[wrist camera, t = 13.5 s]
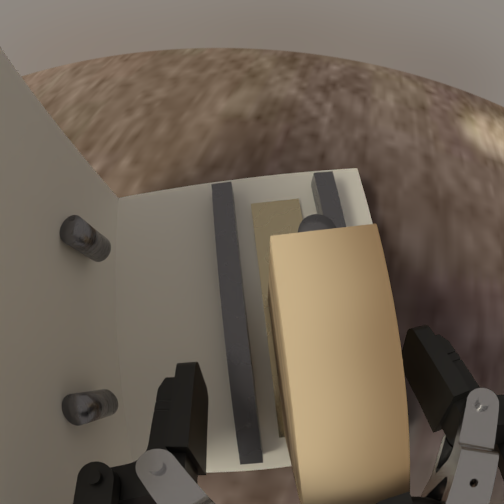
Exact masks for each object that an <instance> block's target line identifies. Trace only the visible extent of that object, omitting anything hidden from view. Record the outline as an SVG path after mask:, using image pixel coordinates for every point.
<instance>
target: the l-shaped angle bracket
mask: <svg viewBox="0 0 504 504" xmlns="http://www.w3.org/2000/svg"><path fill="white" fill-rule="evenodd" d="M313 214H321V215H324V216H326V217H328V218H329V219H331V220H332V221H333V223H334V224H335V226H336V228H342V227H350V226H359V225H368V224H373V223H372V219H371V215H370V212H369V208H368V204H367V200H366V197H365V193H364V190H363V186H362V183H361V179H360V176H359V173H358V169H357V168H351V169H336V170H323V171H311V172H300V173H289V174H279V175H270V176H261V177H252V178H244V179H235V180H228V181H220V182H213V183H206V184H199V185H192V186H185V187H179V188H173V189H167V190H161V191H155V192H149V193H143V194H138V195H132V196H127V197H121V198H118V197H117V196H116V195H115V194H114V192H113V191H112V190H111V189H110V188H109V187H108V186H107V184H106V183H105V182H104V181H103V180H102V179H101V177H100V176H99V175H98V174H97V173H96V171H95V170H94V169H93V168H92V167H91V165H90V164H89V163H88V162H87V161H86V159H85V158H84V157H83V156H82V155H81V153H80V152H79V151H78V150H77V149H76V147H75V146H74V145H73V144H72V142H71V141H70V140H69V139H68V137H67V136H66V135H65V134H64V132H63V131H62V130H61V129H60V127H59V126H58V125H57V124H56V122H55V121H54V120H53V118H52V117H51V116H50V115H49V113H48V112H47V111H46V109H45V108H44V107H43V105H42V104H41V103H40V101H39V100H38V99H37V98H36V96H35V95H34V94H33V92H32V91H31V89H30V88H29V87H28V85H27V84H26V83H25V81H24V80H23V79H22V77H21V76H20V75H19V73H18V72H17V70H16V69H15V68H14V66H13V65H12V63H11V62H10V60H9V59H8V58H7V56H6V55H5V53H4V52H3V51H2V49H1V47H0V504H73V500H74V494H75V488H76V482H77V477H78V473H79V471H80V470H81V468H82V467H83V466H84V465H86V464H88V463H90V462H95V461H98V462H102V463H105V464H106V465H108V466H109V467H115V466H120V465H125V464H129V463H132V462H135V461H136V460H138V458H139V457H140V456H141V455H142V454H143V453H144V452H146V450H147V447H148V443H149V436H150V430H151V424H152V419H153V413H154V407H155V402H156V396H157V391H158V388H159V386H160V385H161V383H162V382H163V380H164V379H165V378H166V377H175V371H176V365H177V363H186V362H198V363H199V366H200V369H201V372H202V375H203V378H204V381H205V384H206V387H207V391H208V427H207V458H206V472H234V471H249V470H261V469H271V468H280V467H288V466H292V465H291V461H290V457H289V452H288V448H287V444H286V439H285V434H284V425H283V417H282V409H281V400H280V392H279V384H278V376H277V367H276V359H275V351H274V343H273V335H272V327H271V319H270V311H269V304H268V282H269V256H270V236H273V235H282V234H290V233H297V232H298V228H299V225H300V223H301V221H302V220H303V219H304V218H306V217H307V216H309V215H313Z"/></svg>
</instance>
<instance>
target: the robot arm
mask: <svg viewBox="0 0 504 504" xmlns="http://www.w3.org/2000/svg"><path fill="white" fill-rule="evenodd" d="M402 359H403V367H404V373H405V375H406V377H407V379H408V381H409V383H410V385H411V387H412V389H413V391H414V393H415V395H416V397H417V399H418V401H419V403H420V405H421V408H422V410H423V412H424V414H425V416H426V418H427V420H428V422H429V424H430V427H431V429H432V431H433V432H436V431H439V430H441V429H443V431H444V433H445V434H444V436H443V439H442V442H441V446H440V449H439V453H438V456H437V459H436V462H435V466H434V469H433V472H432V475H431V477H430V479H429V481H428V483H427V484H426V486H425V488H424V490H423V492H422V494H421V497H411V496H410V493H409V492H406V493H403V494H400V495H397V496H394V497H391V498H388V499H385V500H381V501H379V502H378V503H376V504H489V502H490V498H491V494H492V490H493V485H494V481H495V476H496V471H497V466H498V467H499V469H500V472H501V475H502V477H503V480H504V395H495V393H494V392H492V391H491V390H489V389H486V388H480V387H479V386H478V384H477V383H476V381H475V380H474V378H473V376H472V375H471V373H470V372H469V370H468V369H467V367H466V366H465V364H464V363H463V361H462V360H460V357H459V355H458V354H457V353H455V350H454V348H453V347H452V345H451V344H450V342H449V341H447V340H446V339H445V338H443V337H442V336H440V335H436V336H435V335H434V333H433V332H432V330H431V329H430V328H429V326H427V325H423V326H419V327H415V328H411V329H409V330H408V331H407V335H406V339H405V343H404V347H403V350H402ZM207 427H208V391H207V387H206V384H205V381H204V378H203V375H202V372H201V369H200V366H199V363H198V362H186V363H177V365H176V371H175V377H166V378H165V379H164V380H163V382H162V383H161V385H160V386H159V388H158V391H157V396H156V402H155V407H154V413H153V419H152V424H151V430H150V436H149V443H148V447H147V450H146V452H144V453H143V454H142V455H141V456H140V457H139V458H138V460H136V461H135V462H132V463H129V464H125V465H120V466H115V467H109V466H108V465H106V464H105V463H102V462H98V461H95V462H90V463H88V464H86V465H84V466H83V467H82V468H81V470H80V471H79V473H78V477H77V482H76V488H75V494H74V500H73V504H215V503H214V502H213V501H212V500H211V499H210V498H209V497H208V496H207V495H206V494H205V493H204V491H203V490H202V489H201V488H200V487H199V486H198V485H197V477H198V475H206V458H207Z"/></svg>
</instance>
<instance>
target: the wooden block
mask: <svg viewBox="0 0 504 504" xmlns="http://www.w3.org/2000/svg"><path fill="white" fill-rule="evenodd" d="M268 304H269V311H270V319H271V327H272V335H273V343H274V351H275V359H276V367H277V376H278V384H279V392H280V400H281V409H282V417H283V425H284V434H285V439H286V444H287V448H288V452H289V457H290V461H291V465H292V470H293V474H294V478H295V482H296V487H297V491H298V495H299V500H300V504H376V503H378V502H379V501H381V500H385V499H388V498H391V497H394V496H397V495H400V494H403V493H406V492H409V493H410V448H409V425H408V409H407V397H406V386H405V376H404V367H403V359H402V351H401V344H400V337H399V331H398V324H397V318H396V312H395V307H394V301H393V296H392V290H391V285H390V280H389V275H388V271H387V266H386V261H385V257H384V253H383V248H382V244H381V240H380V236H379V232H378V228H377V224H368V225H359V226H350V227H342V228H336V226H335V224H334V223H333V221H332V220H331V219H329V218H328V217H326V216H324V215H321V214H313V215H309V216H307V217H306V218H304V219H303V220H302V221H301V223H300V225H299V228H298V232H297V233H290V234H282V235H273V236H270V256H269V282H268Z"/></svg>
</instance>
